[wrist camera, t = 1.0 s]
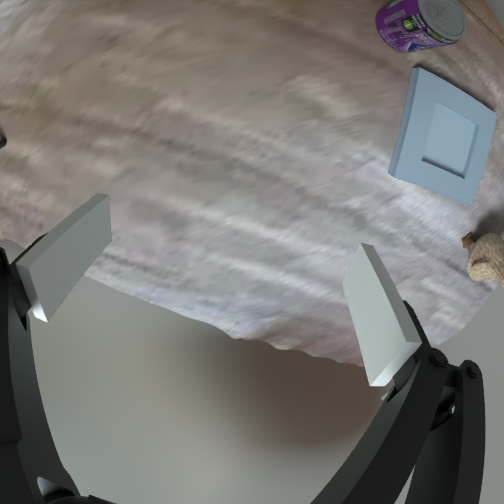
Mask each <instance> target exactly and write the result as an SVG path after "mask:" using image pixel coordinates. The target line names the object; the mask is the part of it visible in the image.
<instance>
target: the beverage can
mask: <svg viewBox="0 0 504 504" xmlns="http://www.w3.org/2000/svg"><path fill="white" fill-rule="evenodd" d="M376 27H377V30H378V32H379V34H380V36H381V37H382V39H383V40H384V41H385V42H386V43H387V44H388V45H389V46H391V47H392V48H394V49H396V50H398V51H401V52H414V51H418V50H423V49H429V48H434V47H440V46H446V45H451V44H454V43H456V42H457V41H458V40H459V39H461V38H463V37H464V36H465V34H466V32H467V20H466V17H465V14H464V12H463V10H462V9H461V7H460V6H459V4H458V3H457V2H456V1H455V0H395V1H393V2H392V3H390V4H389V5H387V6H386V7H384V8H382V9H381V10H380V11H379V12H378V13H377V16H376Z"/></svg>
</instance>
